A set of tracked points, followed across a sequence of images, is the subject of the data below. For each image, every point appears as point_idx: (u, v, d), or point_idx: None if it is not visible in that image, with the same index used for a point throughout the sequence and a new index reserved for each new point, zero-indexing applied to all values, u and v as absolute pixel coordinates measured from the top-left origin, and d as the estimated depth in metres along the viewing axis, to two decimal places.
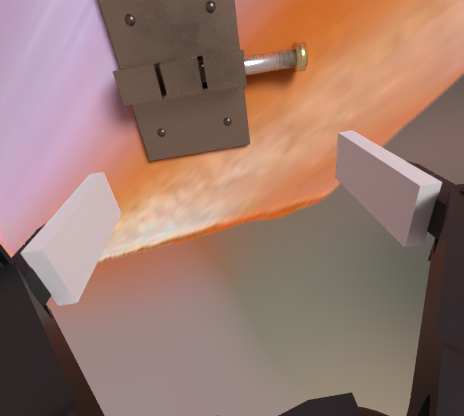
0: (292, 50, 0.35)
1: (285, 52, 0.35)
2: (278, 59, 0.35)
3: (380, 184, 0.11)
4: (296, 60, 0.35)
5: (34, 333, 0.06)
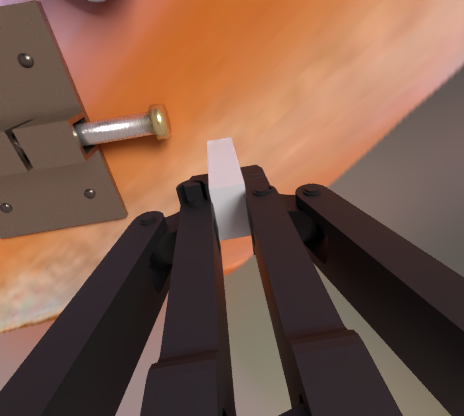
0: (147, 114, 0.27)
1: (137, 117, 0.26)
2: (127, 127, 0.26)
3: None
4: (152, 128, 0.27)
5: (207, 267, 0.07)
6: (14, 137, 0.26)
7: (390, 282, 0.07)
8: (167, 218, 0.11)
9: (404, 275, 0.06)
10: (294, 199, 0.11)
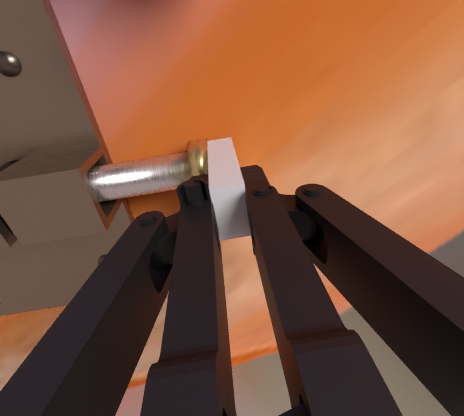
0: (182, 158, 0.16)
1: (166, 163, 0.16)
2: (150, 178, 0.16)
3: None
4: None
5: (207, 267, 0.07)
6: None
7: (391, 282, 0.07)
8: (167, 218, 0.11)
9: (404, 275, 0.06)
10: (294, 199, 0.11)
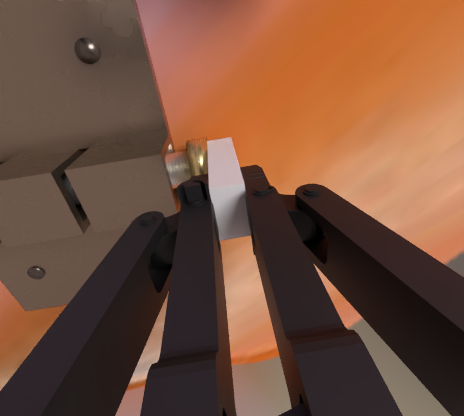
0: (182, 157, 0.16)
1: (166, 162, 0.16)
2: None
3: None
4: None
5: (207, 267, 0.07)
6: None
7: (390, 282, 0.07)
8: (167, 218, 0.11)
9: (404, 275, 0.06)
10: (294, 199, 0.11)
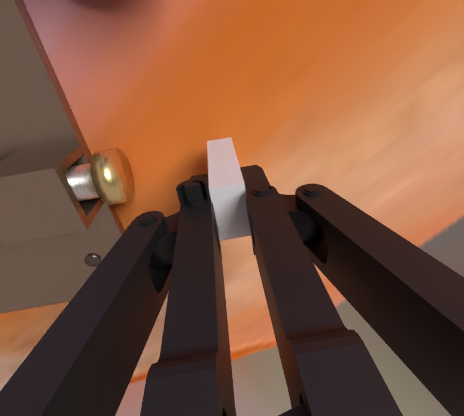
0: (89, 169, 0.16)
1: (73, 173, 0.16)
2: None
3: None
4: None
5: (207, 267, 0.07)
6: None
7: (391, 282, 0.07)
8: (167, 218, 0.11)
9: (404, 275, 0.06)
10: (294, 199, 0.11)
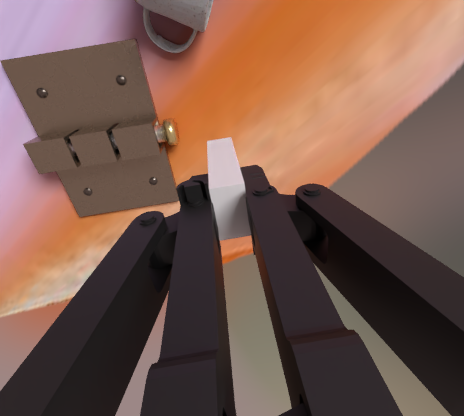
0: (161, 126, 0.36)
1: (154, 128, 0.35)
2: None
3: None
4: (165, 136, 0.36)
5: (207, 267, 0.07)
6: None
7: (391, 282, 0.07)
8: (167, 218, 0.11)
9: (404, 275, 0.06)
10: (294, 199, 0.11)
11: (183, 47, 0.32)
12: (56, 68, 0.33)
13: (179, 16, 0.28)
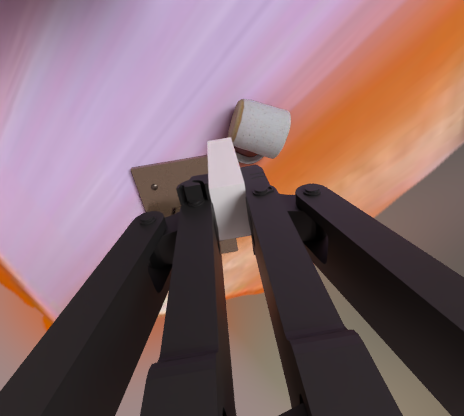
0: None
1: None
2: None
3: None
4: None
5: (207, 267, 0.07)
6: None
7: (391, 282, 0.07)
8: (167, 218, 0.11)
9: (404, 275, 0.06)
10: (294, 199, 0.11)
11: (254, 161, 0.47)
12: (166, 172, 0.48)
13: (259, 153, 0.43)
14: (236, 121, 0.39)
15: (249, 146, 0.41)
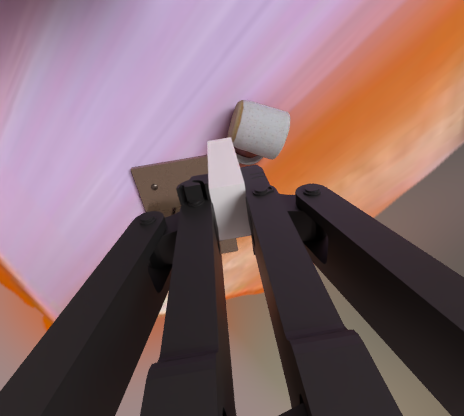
0: None
1: None
2: None
3: None
4: None
5: (207, 267, 0.07)
6: None
7: (391, 282, 0.07)
8: (167, 218, 0.11)
9: (404, 275, 0.06)
10: (294, 199, 0.11)
11: (253, 162, 0.47)
12: (166, 172, 0.48)
13: (258, 154, 0.43)
14: (235, 122, 0.39)
15: (248, 147, 0.41)
